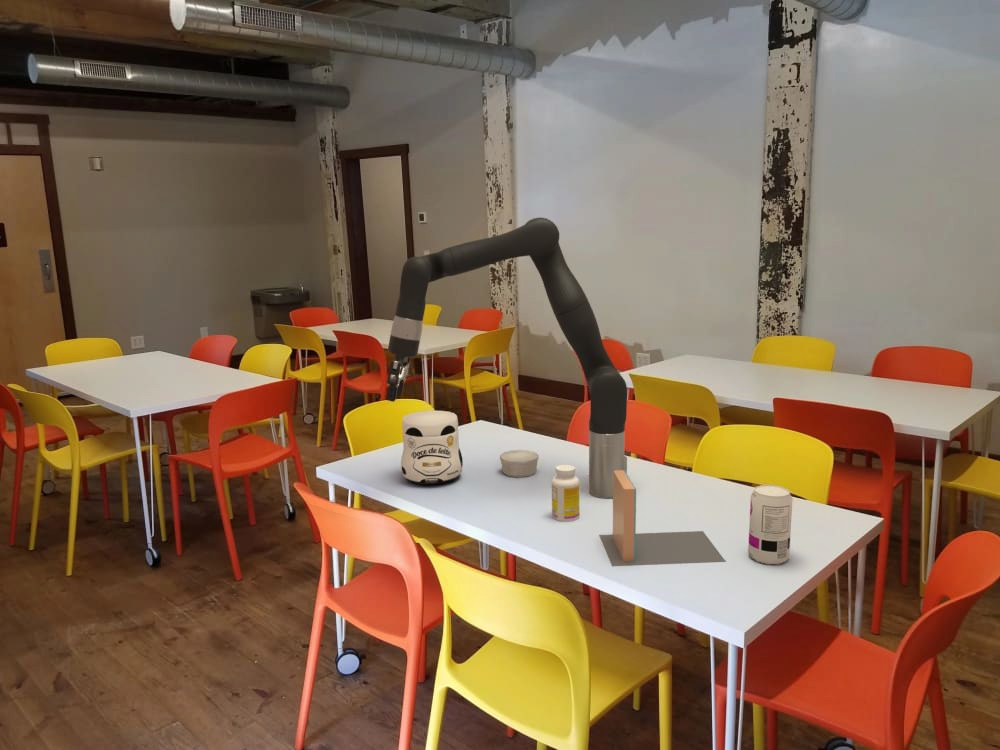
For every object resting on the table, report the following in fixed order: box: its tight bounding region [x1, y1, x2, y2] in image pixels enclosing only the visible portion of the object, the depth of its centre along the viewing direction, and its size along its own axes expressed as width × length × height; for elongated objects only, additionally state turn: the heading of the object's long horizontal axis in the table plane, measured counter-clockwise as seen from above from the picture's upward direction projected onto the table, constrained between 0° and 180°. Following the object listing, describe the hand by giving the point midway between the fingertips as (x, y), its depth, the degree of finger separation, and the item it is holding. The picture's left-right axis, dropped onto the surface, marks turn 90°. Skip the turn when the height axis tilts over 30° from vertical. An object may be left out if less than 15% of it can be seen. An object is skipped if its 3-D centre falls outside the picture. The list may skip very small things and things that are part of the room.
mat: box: [598, 530, 727, 567], centre depth 168 cm, size 24×16×1 cm, turn 92°
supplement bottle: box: [551, 464, 580, 523], centre depth 185 cm, size 7×7×13 cm
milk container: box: [400, 410, 463, 485], centre depth 215 cm, size 17×17×18 cm
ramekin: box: [499, 449, 540, 478], centre depth 220 cm, size 11×11×5 cm
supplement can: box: [747, 484, 793, 565], centre depth 161 cm, size 8×8×15 cm
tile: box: [612, 470, 637, 561], centre depth 166 cm, size 2×12×16 cm, turn 2°
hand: (393, 398), depth 194 cm, fingers open, 8 cm apart
